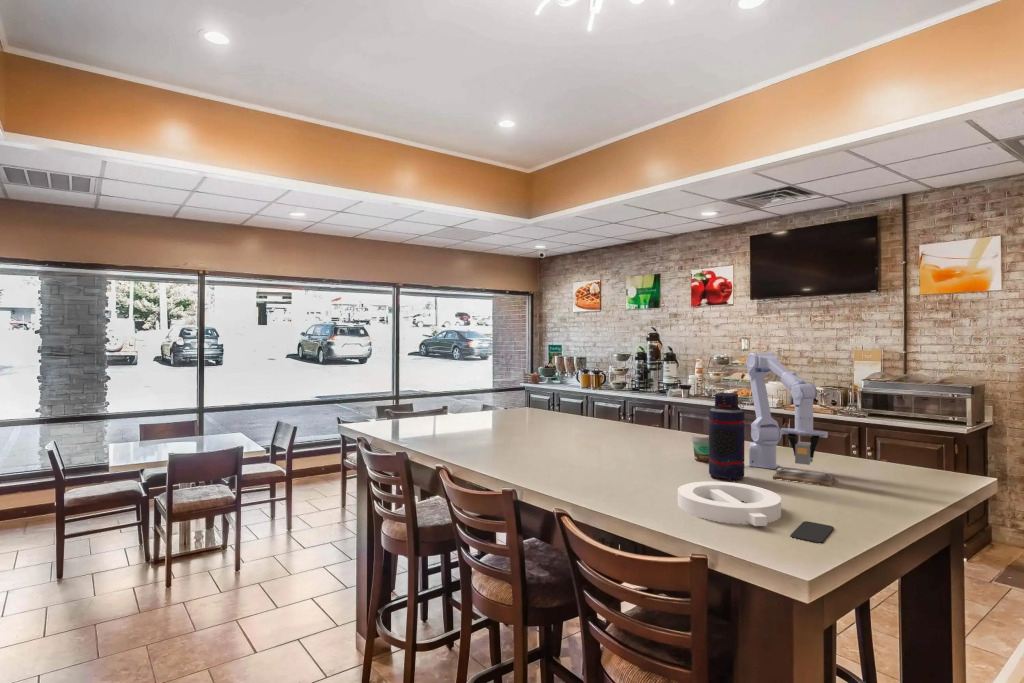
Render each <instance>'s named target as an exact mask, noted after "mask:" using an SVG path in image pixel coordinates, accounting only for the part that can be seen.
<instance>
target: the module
mask: <svg viewBox="0 0 1024 683" xmlns="http://www.w3.org/2000/svg"><path fill="white" fill-rule="evenodd" d="M794 457H795V458H794V462H795V464H799V465H808V466H810V465H811V463H813V462H814V460H813V459H814V457H813V458H811V442H807V441H806V442H805V441H797V444H795V456H794Z"/></svg>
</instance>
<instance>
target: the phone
mask: <svg viewBox="0 0 1024 683" xmlns="http://www.w3.org/2000/svg"><path fill="white" fill-rule="evenodd" d="M834 529H835V527H834V526H833V525H829V524H825V523H818V522H817V523H816V522H812V521H808V520H805V521H802V522H801V523H800V524H799V525H798V526H797V527H796V529H794V530H793V532H791V533H790V538H791V537H792V539H794V538H796V539H795V540H798V539H800V540H799V541H803V540H804V541H805V542H808V541H809V543H814V544H818V543H822V544H824V542H825V541H826V540H827V539H828V538H829V536H830V535H831V534H832V532H833V531H834ZM826 538H827V539H826Z"/></svg>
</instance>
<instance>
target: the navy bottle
mask: <svg viewBox="0 0 1024 683" xmlns="http://www.w3.org/2000/svg"><path fill="white" fill-rule="evenodd" d="M740 400H741V402H742V403H740ZM741 404H742V405H741ZM744 408H745V404H744V401H743V398H741V397H740V396H739V393H737V392H736V393H734V392H718V393H715V394H714V405H713V406H712V407H711V408H710V409H708V419H709V421H708V437H709V459H710V460H709V463H708V474H709V475H710V478H711V477H712V479H713V478H714V479H716V478H722V479H729V481H730V482H737V481H738V479H742V478H744V477H745V422H744V421H745V410H743V409H744Z"/></svg>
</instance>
